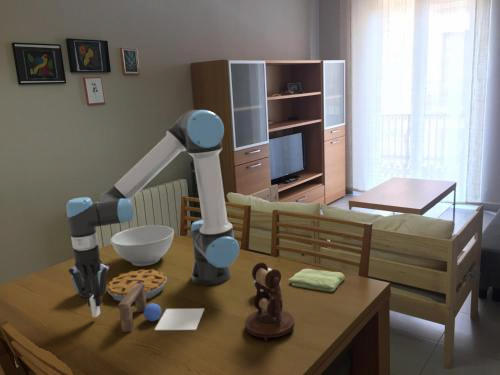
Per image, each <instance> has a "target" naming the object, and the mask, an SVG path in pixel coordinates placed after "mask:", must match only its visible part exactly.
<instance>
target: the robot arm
mask: <svg viewBox="0 0 500 375" xmlns="http://www.w3.org/2000/svg"><path fill="white" fill-rule="evenodd" d="M165 134H166V135H165V136H164V137H163V138H162V139H161V140H160V141H159V142H158V143H156V145H155V146H154V147H152V149H151V150H150V151H149V152H147V153H146V154H145V155H144V156H143V157H142V158H141V159H140V160H139V161H138V162H137V163H135V165H134V166H133V167H131V169H129V170H128V171H127V172H126V173H125V174H124V175H123V176H122V177H121V178H120V179H119V180H118V181H117V182H116V183H115V184H114V185H112V187H110V189H109V190H106V191H104V192H103V193H102V194H100V197H99V199H98V202H93V201H92V198H90V197H86V196H84V197H82V196H81V197H76V198H72V199H70V200H68V201H67V202H66V203H65V206H66V214H67V222H68V225H69V226H68V228H69V233H70V238H71V245H72V248H73V250H72V251H73V252H72V253H73V256H74V261H75V263H74V265H73V266H71V268H69V269H68V273H69V274H70V275H71V276H73V278H74V281H75V283H76V286H77V288H78V290H79V293H80V294H79V293H78V294H79V295H80V297H82V296H85V297H84V298H86V299H87V305H88V307H90V309H91V316H92V318H97V317H98V316H100V315H101V308H100V306H101V305H102V298H101V297H102V296H103V295H104V294H105V293H106V291H107V281H108V280H107V278H108V272H109V270H110V268H111V267H110V265H109V264H108V265H105V264H103V262H102V260H101V254H100V248H99V245H98V244H99V241H98V235H97V229H96V227H103V226H109V225H111V226H112V225H117V224H124V223H127V222H131V221H133V220H134V209H133V208H134V207H133V202H132V199H133V198H134V197H135V196H136V195H138V193H139V192H141V190H142V189H144V188H145V187H146V185H148V184H149V182H151V181H152V180H153V179H154V178H155V177H156V176H157V175H158V174H159V173H160V172H161V171H162V170H163V169H164V168H166V167H167V166H168V165H169V164H170V163H171V162H172V161H173V160H174V159H175V158H176V157H177V156H178V155H179V154H180V153H181V152H186V151H187V153H188V155H189V156H191V157H192V158H193V165H194V171H195V172H194V173H195V180H196V184H197V186H196V187H197V193H198V198H199V206H200V213H201V219H200V220H199V219H198V220H195V221H194V222H192V223H191V226H190V227H191V230H190V232H191V238H192V247H193V257H194V258H193V259H194V260H193V265H192V271H191V280H192V282H193V283H195V284H196V285H197V284H198V285H201V286H213V285H218V284H221V283H225V282H226V281H228V280H229V279H230V278H231V275H232V274H231V268H230V266H231V265H232V264H233V263H234V262H236V260H237V259H238V257H239V254H240V245H239V243H238V241H237V239H235V236H234V235H235V234H234V227H233V224H232V223H231V222H230V221H229V220H228V216H227V208H226V200H225V193H224V192H225V191H224V184H223V177H222V170H221V162H220V153H221V151H223V142H222V140H223V138H224V134H225V127H224V123H223V121H222V119H221V118H220V116H218V115H217V114H216V113H214V112H212V111H211V110H209V109H208V110H207V109H192V110H188V111H186V112H185V113H183V114H182V115H181V116H180V117H179V118H178V119H177V120H176V121H175V122H174V123H173V124H172V126H170V127H169V128H168V130H167V131H166V133H165ZM99 268H100V269H101V270H100V272H101V275H100V286H99V280H98V270H99ZM79 271H80V272H81V274H82V277H81V275H80V272H79ZM83 281H84V282H83ZM91 283H92V284H91ZM92 289H93V291H92ZM92 294H93V296H92Z"/></svg>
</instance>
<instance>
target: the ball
mask: <svg viewBox="0 0 500 375" xmlns="http://www.w3.org/2000/svg"><path fill="white" fill-rule="evenodd" d="M161 315H162V309H161V306H160V305H159V304H157V303H153V302H152V303H149V304H147V306H146V308H145V309H144V312H143V316H144V318H145V319H146V320H147V321H149V322H156V321H157V320H160V318H161V317H162V316H161Z"/></svg>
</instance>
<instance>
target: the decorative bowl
mask: <svg viewBox="0 0 500 375" xmlns="http://www.w3.org/2000/svg"><path fill="white" fill-rule="evenodd" d="M174 232H175V231H174V229H173V228H172V227H169V226H167V225H166V226H165V225H157V224H156V225H154V224H153V225H142V226H137V227H131V228H128V229H124V230H122V231H119V232H117V233H115V234H114V235H113V236H112V237H111V238H110V242H111V243H110V244H111V245H112V247H113V249H114V250H115V252H116V253H117V254H118V255H119V256H120V257H121V258H122V259H123V260H125V261H127V262H129V263H131V264H132V265H133V266H136V267H145V266H150V265H151V266H152V265H154V264H156V263H158V262H159V261H160V260H161V258H162V257H163V256H164V255H165V254H166V253H167V252H168V251H169V249H170V247H171V245H172V242H173V240H174V234H175V233H174Z"/></svg>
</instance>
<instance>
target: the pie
mask: <svg viewBox="0 0 500 375" xmlns="http://www.w3.org/2000/svg"><path fill="white" fill-rule="evenodd" d="M167 278H168V276H167V275H166V274H165V272H162V270H160V269H157V270H155V269H154V268H150V269H142V268H141V269H138V270H136V271H135V270H131V271H128V272H126V273H120V274H119V275H118V276H117V277H113V278H112V279H111V281H109V282H108V286H106V291H107V293H108V294H109V295H110V296H112V298H113V299H114V300H115V301H119V302H121V301H122V300H123V298H124V297H125V296H126V295H127V294H128V292H129V291H130V290H131V289H132V287H133V286H134V285H135V284H144V287H145V295H146V300H148V299H151V298H153V297H155V296H157V295H158V294H160V293H161V291H163V289H164V286H165V284H166V283H167ZM133 302H135V300H134V301H133Z"/></svg>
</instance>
